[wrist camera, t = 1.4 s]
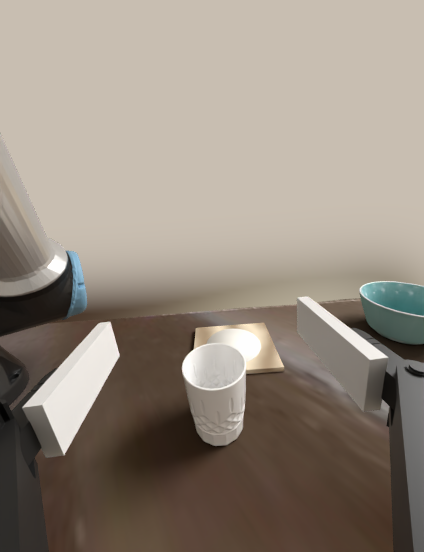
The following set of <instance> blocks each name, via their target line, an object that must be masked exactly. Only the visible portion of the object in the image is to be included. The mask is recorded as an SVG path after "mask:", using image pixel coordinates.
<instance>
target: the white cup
mask: <svg viewBox="0 0 424 552" xmlns="http://www.w3.org/2000/svg"><path fill="white" fill-rule="evenodd" d="M182 373H183V378H184V383H185V387H186V392H187V397H188V401H189V405H190V409H191V413H192V415H193V418H194V421H195V426H196V431H197V433H198V434H199V436H200V437H201V438H202V440H203V441H204V442H207V443H209V444H211V445H213V446H222V445H228V444H229V443H231V442H232V441H234V440H236V439H237V438H238V436H239V434H240V432H241V431H242V429H243V418H244V410H245V394H246V360H245V358H244V356H243V354H242V353H241V352H240V351H239V350H238V349H236V348H235V347H233V346H230V345H227V344H223V343H210V344H205V345H202V346H200V347H197V348H196V349H194V350H192V351H191V352H190V353H189V354H188V355H187V356H186V358H185V359H184V361H183V364H182Z"/></svg>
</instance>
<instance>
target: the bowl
mask: <svg viewBox="0 0 424 552" xmlns="http://www.w3.org/2000/svg"><path fill="white" fill-rule="evenodd" d="M359 292H360V297H361V301H362V306H363V309H364V313H365V317H366V320H367V322H368V324H369V325H370V326H371V327H372V328H373V329H374V330H375V331H376V332H377V333H379V334H380V335H382V336H384V337H386V338H388V339H390V340H393V341H396V342H400V343H405V344H414V345H416V344H424V286H421V285H415V284H410V283H403V282H391V281H381V282H372V283H367V284H365V285H363V286H361V287H360V289H359Z"/></svg>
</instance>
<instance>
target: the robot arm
mask: <svg viewBox="0 0 424 552" xmlns="http://www.w3.org/2000/svg"><path fill="white" fill-rule="evenodd" d="M86 306H87V295H86V289H85V285H84V277H83V272H82V268H81V264H80V260H79V257H78V255H77V253H76V252H74V251H65V250H64V248H63V247H62V245H60V244H59V243H58V242H56V241H55V240H53V239H50V238H47V236H46V233H45V231H44V229H43V227H42V225H41V223H40V220H39V218H38V216H37V214H36V211H35V209H34V207H33V205H32V202H31V200H30V198H29V196H28V194H27V191H26V189H25V187H24V185H23V182H22V180H21V178H20V176H19V174H18V171H17V169H16V167H15V165H14V162H13V160H12V158H11V156H10V154H9V151H8V149H7V147H6V144H5V142H4V140H3V138H2V136H1V133H0V337H1V336H5V335H8V334H12V333H15V332H19V331H22V330H26V329H29V328H33V327H36V326H40V325H43V324H47V323H50V322H54V321H58V320H61V319H62V320H64V319H67V318H68V317H70V316H73V315H76V314H79V313H81V312H83V311H84V310H85V309H86ZM297 333H298V334H299V335H300V336H301V337H302V339H303V340H304V341H305V342H306V343H307V345H308V346H309V347H310V348H311V349H312V351H313V352H314V353H315V354H316V355H317V357H318V358H319V359H320V360H321V361H322V363H323V364H324V365H325V366H326V367H327V369H328V370H329V371H330V372H331V373H332V375H333V376H334V377H335V378H336V379H337V381H338V382H339V383H340V384H341V386H342V387H343V388H344V389H345V390H346V392H347V393H348V394H349V395H350V396H351V398H352V399H353V400H354V401H355V402H356V404H357V405H358V406H359V407H360V408H361V410H362V411H363V412H368V411H375V410H380V409H381V402H382V399H383V400H384V401H385V402H386V403H387V404H388V405H389V406H390V408H389V414H388V420H387V426H388V427H389V435H390V462H391V490H392V518H393V546H394V552H424V363H421V362H418V361H414V360H404V359H402V358H401V357H400V356H398V355H397V354H395V353H394V352H393V351H391V350H390V349H388V348H387V347H386V346H384V345H383V344H380V342H379V341H377V340H376V339H374V338H373V337H372V336H370V335H369V334H367V333H366V332H364V331H362V330H359V329H357V328H349V327H348V326H346V325H345V324H344V323H342V322H341V321H340V320H338V319H337V318H336V317H334V316H333V315H332V314H330V313H329V312H328V311H326V310H325V309H324V308H323V307H321V306H320V305H319V304H317V303H316V302H315V301H313V300H312V299H311V298H309V297H299V298H297ZM119 356H120V355H119V352H118V348H117V344H116V341H115V337H114V334H113V330H112V326H111V323H110V322H104V323H99V324H98V325H97V326H96V327H95V328H94V329H93V330H92V331H91V332H90V334H89V335H88V336H87V337H86V338H85V339H84V340H83V341H82V342H81V343H80V345H79V346H78V347H77V348H76V349H75V350H74V351H73V352H72V353H71V354H70V356H69V357H68V358H67V359H66V360H65V361H64V362H63V363H62V364H61V365H60V367H59V368H55V369H54V370H52V371H51V372H49V373H48V374H47V375H45V376H44V377H43V378H42V379H41V380H40V382H39V383H38V384H37V385H36V386H35V387H34V388H33V389H32V390H31V392H29V393H28V394H27V395H26V396H25V397H24V398H23V399H22V401H21V402H20V403H19V404H18V405H17V406H16V407H15V408H14V409H13V410H12V411H11V410H10V408H9V405H10V404H11V403H12V402H13V401H14V400H15V399H16V398H17V397H18V396H19V395H20V394H21V393H22V391H23V390H24V389H25V387H26V385H27V383H28V380H29V374H28V372H27V370H26V368H25V366H24V364H23V363H22V362H21V361H19V360H18V359H17V358H15V357H14V356H13V355H12V354H10V353H9V352H8V351H6V350H5V349H4V348H2V347H1V346H0V552H49V550H48V542H47V535H46V527H45V519H44V512H43V504H42V496H41V488H40V481H39V473H38V465H37V462H36V460H35V456H36V455H37V453H38V452H39V450H40V449H42V451H43V453H44V455H45V457H46V458H48V457H55V456H62V455H64V454H65V453H66V451H67V449H68V447H69V445H70V444H71V442H72V440H73V438H74V436H75V435H76V433H77V431H78V429H79V427H80V426H81V424H82V422H83V420H84V418H85V417H86V415H87V413H88V411H89V410H90V408H91V406H92V404H93V402H94V401H95V399H96V397H97V395H98V393H99V392H100V390H101V388H102V386H103V384H104V383H105V381H106V379H107V377H108V375H109V374H110V372H111V370H112V368H113V366H114V365H115V363H116V361H117V359H118V357H119Z"/></svg>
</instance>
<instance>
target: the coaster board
mask: <svg viewBox="0 0 424 552" xmlns="http://www.w3.org/2000/svg"><path fill="white" fill-rule="evenodd" d="M210 343H223V344H227V345H230V346H233V347H235V348H236V349H238V350H239V351H240V352H241V353H242V354H243V356H244V358H245V360H246V374H253V373H267V372H281V371H284V366H283V364H282V361H281V359H280V357H279V355H278V353H277V350H276V348H275V346H274V344H273V342H272V339H271V337H270V335H269V333H268V331H267V328H266V326H265V324H264V323H255V324H242V325H229V326H215V327H202V328H196V333H195V343H194V349H196V348H197V347H200V346H202V345H205V344H210Z"/></svg>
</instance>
